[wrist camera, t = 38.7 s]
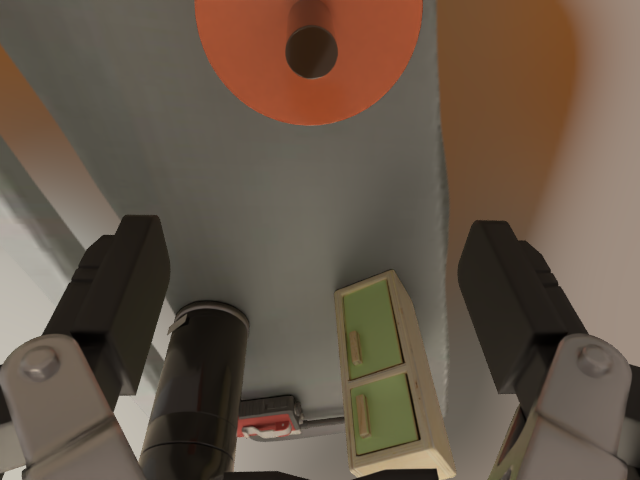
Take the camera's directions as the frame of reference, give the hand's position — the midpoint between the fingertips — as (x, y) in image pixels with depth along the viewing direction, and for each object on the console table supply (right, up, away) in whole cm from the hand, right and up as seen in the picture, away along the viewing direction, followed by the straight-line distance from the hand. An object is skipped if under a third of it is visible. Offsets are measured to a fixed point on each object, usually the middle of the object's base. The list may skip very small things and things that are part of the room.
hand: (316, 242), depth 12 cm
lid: (-1, +13, +15) cm, 20 cm away
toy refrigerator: (+7, -6, +43) cm, 44 cm away
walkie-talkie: (-6, -27, +61) cm, 67 cm away
